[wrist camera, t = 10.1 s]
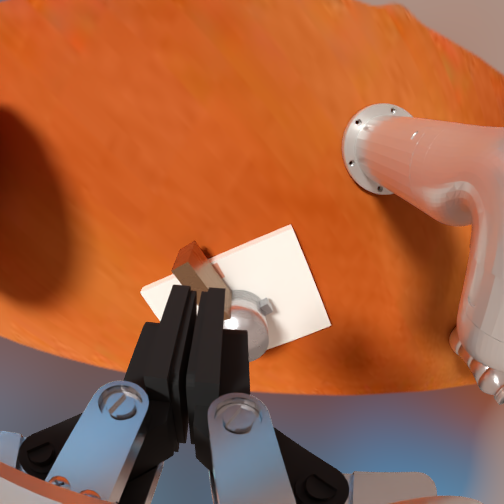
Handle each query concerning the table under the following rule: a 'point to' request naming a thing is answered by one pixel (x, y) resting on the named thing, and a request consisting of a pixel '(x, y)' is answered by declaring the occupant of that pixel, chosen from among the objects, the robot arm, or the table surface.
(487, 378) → the plastic bottle
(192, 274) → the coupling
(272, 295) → the base
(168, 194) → the table surface
